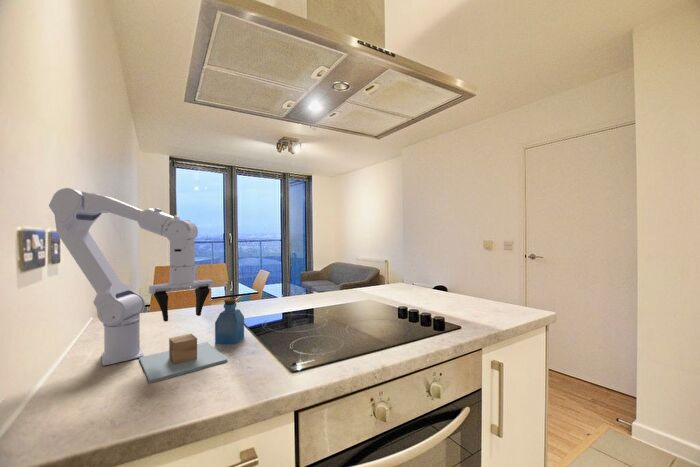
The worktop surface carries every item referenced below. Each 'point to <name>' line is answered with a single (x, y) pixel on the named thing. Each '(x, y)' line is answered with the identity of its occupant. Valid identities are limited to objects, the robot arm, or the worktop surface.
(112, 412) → the worktop surface
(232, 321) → the perfume bottle
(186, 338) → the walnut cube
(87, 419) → the worktop surface
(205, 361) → the slate board
